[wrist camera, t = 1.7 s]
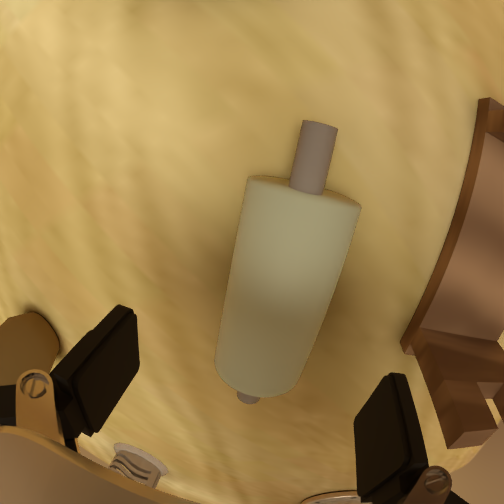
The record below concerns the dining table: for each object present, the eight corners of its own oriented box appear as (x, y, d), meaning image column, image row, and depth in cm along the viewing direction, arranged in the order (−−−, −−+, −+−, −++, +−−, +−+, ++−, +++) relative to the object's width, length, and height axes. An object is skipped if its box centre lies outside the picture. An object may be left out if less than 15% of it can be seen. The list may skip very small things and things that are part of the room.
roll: (289, 377, 23) (282, 433, 18) (220, 360, 24) (199, 413, 18) (364, 141, 16) (394, 140, 10) (268, 117, 16) (252, 103, 11)
